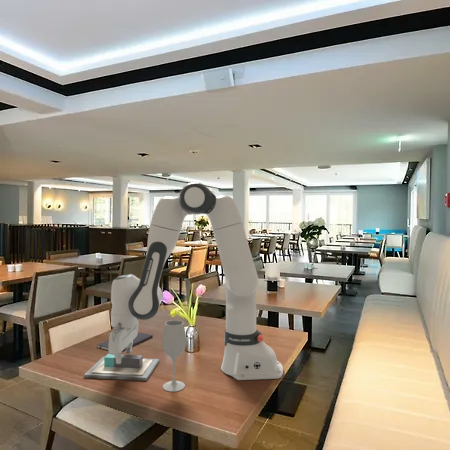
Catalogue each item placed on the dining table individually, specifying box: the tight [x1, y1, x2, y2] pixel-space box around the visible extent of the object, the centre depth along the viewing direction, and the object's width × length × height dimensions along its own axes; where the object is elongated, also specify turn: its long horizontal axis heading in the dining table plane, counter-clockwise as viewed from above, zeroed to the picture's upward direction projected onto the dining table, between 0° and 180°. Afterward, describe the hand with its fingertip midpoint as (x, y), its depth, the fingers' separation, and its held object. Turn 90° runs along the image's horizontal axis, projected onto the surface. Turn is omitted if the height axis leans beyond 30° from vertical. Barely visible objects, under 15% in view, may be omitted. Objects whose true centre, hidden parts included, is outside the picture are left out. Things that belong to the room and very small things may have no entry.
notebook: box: [97, 331, 153, 352], centre depth 160 cm, size 13×2×21 cm
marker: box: [104, 353, 144, 368], centre depth 132 cm, size 13×3×3 cm, turn 85°
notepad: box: [83, 356, 160, 382], centre depth 132 cm, size 22×16×1 cm
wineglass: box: [161, 319, 187, 393], centre depth 119 cm, size 8×8×21 cm
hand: (124, 357), depth 132 cm, fingers open, 8 cm apart
